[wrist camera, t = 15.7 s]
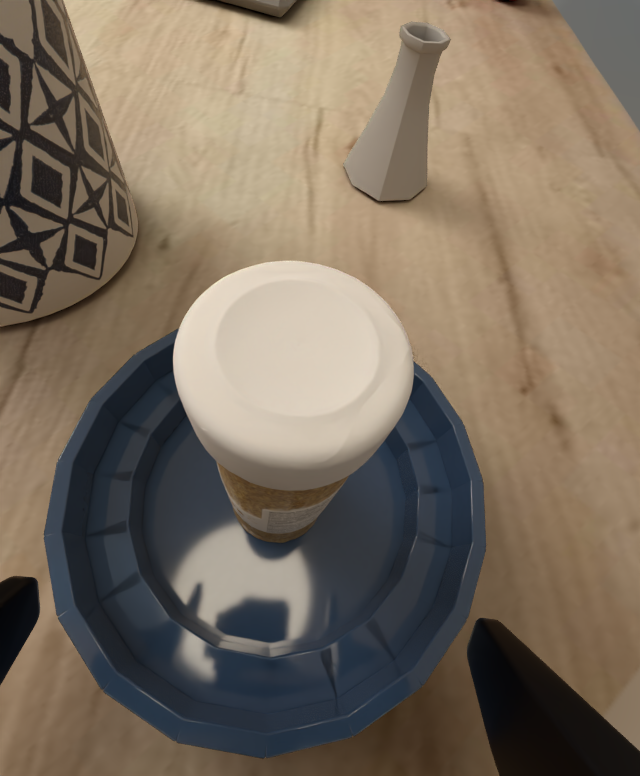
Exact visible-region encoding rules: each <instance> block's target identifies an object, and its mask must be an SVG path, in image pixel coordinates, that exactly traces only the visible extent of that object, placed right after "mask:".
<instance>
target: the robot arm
mask: <svg viewBox="0 0 640 776" xmlns="http://www.w3.org/2000/svg"><path fill="white" fill-rule="evenodd" d="M39 613H40V602H39V590H38V582H37V580H36V579H35V578H33V577H23V576H13V577H10V578H8V579H6V580H4V581H2V582H0V685H1V683H2V682H3V680H4V678H5V676H6V675H7V673H8V671H9V669H10V668H11V666H12V664H13V662H14V661H15V659H16V657H17V656H18V654H19V652H20V650H21V649H22V647H23V645H24V643H25V642H26V640H27V638H28V637H29V635H30V633H31V631H32V630H33V628H34V626H35V624H36V622H37V620H38V617H39ZM467 658H468V662H469V666H470V670H471V674H472V678H473V682H474V686H475V690H476V694H477V698H478V702H479V706H480V709H481V713H482V717H483V721H484V725H485V729H486V733H487V737H488V740H489V744H490V747H491V751H492V754H493V757H494V760H495V763H496V766H497V769H498V772H499V775H500V776H640V751H639V750H638V749H637V748H636V747H635V746H633V745H632V744H631V743H630V742H629V741H628V740H627V739H626V738H625V737H624V736H623V735H622V734H620V733H619V732H618V731H617V730H616V729H615V728H614V727H613V726H612V725H611V724H610V723H609V722H608V721H607V720H605V719H604V718H603V717H602V716H601V715H600V714H599V713H598V712H597V711H596V710H595V709H594V708H593V707H591V706H590V705H589V704H588V703H587V702H586V701H585V700H584V699H583V698H582V697H581V696H580V695H579V694H577V693H576V692H575V691H574V690H573V689H572V688H571V687H570V686H569V685H568V684H567V683H566V682H565V681H563V680H562V679H561V678H560V677H559V676H558V675H557V674H556V673H555V672H554V671H553V670H552V669H550V668H549V667H548V666H547V665H546V664H545V663H544V662H543V661H542V660H541V659H540V658H539V657H538V656H536V655H535V654H534V653H533V652H532V651H531V650H530V649H529V648H528V647H527V646H526V645H525V644H524V643H522V642H521V641H520V640H519V639H518V638H517V637H516V636H515V635H514V634H513V633H512V632H511V631H510V630H508V629H507V628H506V627H505V626H504V625H503V624H502V623H501V622H499V621H498V620H495V619H486V618H479V619H478V620H477V621H476V622H475V625H474V628H473V631H472V634H471V637H470V640H469V643H468V646H467Z"/></svg>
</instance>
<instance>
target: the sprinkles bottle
mask: <svg viewBox="0 0 640 776" xmlns="http://www.w3.org/2000/svg"><path fill="white" fill-rule="evenodd" d="M173 370H174V377H175V383H176V387H177V390H178V394H179V396H180V399H181V402H182V404H183V407H184V409H185V412H186V414H187V416H188V418H189V420H190V422H191V424H192V427H193V429H194V431H195V433H196V435H197V436H198V438H199V440H200V442H201V443H202V445H203V446H204V448H205V449H206V450H207V452H208V453H209V454H210V455H211V456H212V457H213V458H214V459H215V460H216V461H217V466H218V470H219V473H220V477H221V480H222V482H223V484H224V486H225V489H226V491H227V494H228V496H229V499H230V501H231V503H232V506H233V510H234V513H235V515H236V517H237V519H238V521H239V523H240V524H241V526H242V527H243V528H244V529H245V530H246V531H247V532H248V533H250V534H251V535H253V536H254V537H256V538H258V539H261V540H263V541H267V542H278V543H284V542H287V541H290V540H293V539H296V538H298V537H300V536H301V535H303V534H305V533H306V532H307V531H308V530H309V529H310V528H311V527H312V526H313V525H314V523H315V522H316V520H317V517H318V516H319V515H320V514H321V512H322V511H323V510H324V509H325V507H326V506H327V505H328V504H329V502H330V501H331V500H332V498H333V497H334V496H335V494H336V493H337V492H338V491H339V489H340V488H341V487H342V486H343V484H344V483H345V481H346V480H347V478H348V477H349V475H350V474H352V473H354V472H355V471H356V470H357V469H359V468H360V467H361V466H362V465H363V464H364V463H366V461H367V460H368V459H369V458H370V457H371V456H372V455H373V454H374V453H375V452H376V450H377V449H378V448H379V447H380V446H381V444H382V443H383V442H384V440H385V439H386V438H387V436H388V435H389V434H390V432H391V431H392V430H393V428H394V427H395V425H396V424H397V422H398V421H399V419H400V418H401V416H402V414H403V412H404V410H405V408H406V405H407V403H408V400H409V397H410V394H411V391H412V386H413V378H414V365H413V354H412V348H411V345H410V342H409V339H408V336H407V334H406V331H405V329H404V327H403V325H402V323H401V322H400V320H399V318H398V317H397V315H396V314H395V312H394V311H393V310H392V309H391V307H390V306H389V305H388V303H387V302H386V301H385V300H384V299H382V298H381V297H380V296H379V295H378V294H377V293H376V292H375V291H374V290H373V289H371V288H370V287H369V286H367V285H366V284H364V283H363V282H361V281H359V280H358V279H356V278H355V277H352V276H350V275H348V274H346V273H344V272H342V271H339V270H337V269H334V268H331V267H327V266H324V265H320V264H316V263H310V262H301V261H276V262H267V263H262V264H257V265H253V266H250V267H247V268H244V269H241V270H238V271H236V272H233V273H231V274H229V275H227V276H225V277H223V278H222V279H220V280H219V281H217V282H216V283H214V284H213V285H212V286H210V287H209V288H208V289H207V290H206V291H205V292H204V293H202V294H201V295H200V296H199V297H198V299H197V300H196V301H195V302H194V303H193V305H192V306H191V307H190V309H189V310H188V312H187V313H186V315H185V317H184V319H183V321H182V323H181V326H180V328H179V330H178V334H177V337H176V340H175V345H174V352H173Z"/></svg>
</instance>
